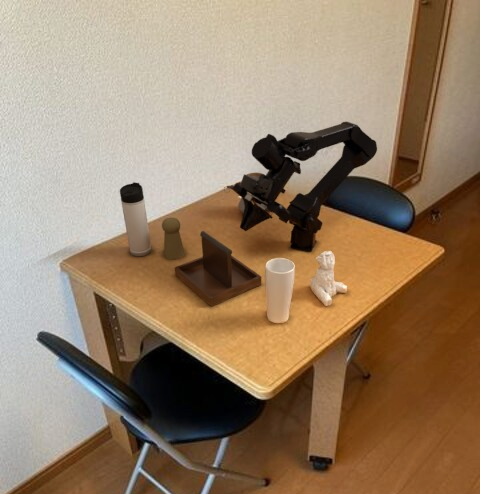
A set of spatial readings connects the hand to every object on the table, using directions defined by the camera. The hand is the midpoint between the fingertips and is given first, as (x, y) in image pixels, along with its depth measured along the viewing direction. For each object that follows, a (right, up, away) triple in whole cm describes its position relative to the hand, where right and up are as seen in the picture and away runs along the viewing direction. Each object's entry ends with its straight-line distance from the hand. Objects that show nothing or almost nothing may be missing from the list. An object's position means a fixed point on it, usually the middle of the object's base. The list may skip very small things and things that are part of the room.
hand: (242, 229), depth 130 cm
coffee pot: (+2, +9, +32) cm, 33 cm away
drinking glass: (+9, -23, -9) cm, 27 cm away
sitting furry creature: (+21, -17, -1) cm, 27 cm away
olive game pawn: (-20, -5, +15) cm, 26 cm away
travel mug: (-30, -3, +17) cm, 35 cm away
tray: (-7, -13, +4) cm, 15 cm away
